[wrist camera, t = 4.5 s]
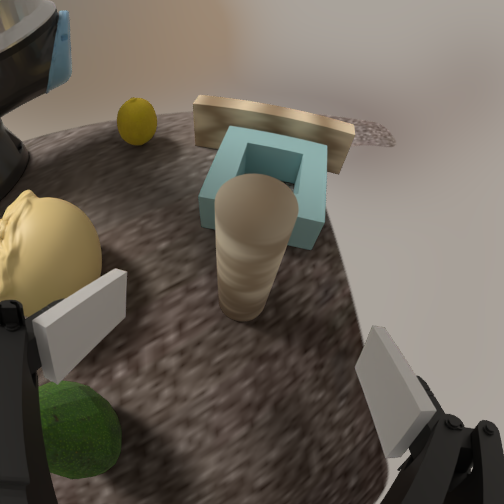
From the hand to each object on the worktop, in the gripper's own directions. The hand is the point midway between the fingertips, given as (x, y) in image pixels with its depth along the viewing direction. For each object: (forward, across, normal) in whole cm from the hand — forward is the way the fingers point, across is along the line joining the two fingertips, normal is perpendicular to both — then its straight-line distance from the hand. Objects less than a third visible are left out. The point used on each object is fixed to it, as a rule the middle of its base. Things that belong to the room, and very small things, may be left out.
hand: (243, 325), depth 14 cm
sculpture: (+10, -20, -6) cm, 23 cm away
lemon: (+26, -20, +9) cm, 34 cm away
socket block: (+21, -1, +5) cm, 22 cm away
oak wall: (+27, -2, +11) cm, 29 cm away
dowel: (+12, -1, -4) cm, 13 cm away
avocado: (+1, -11, -16) cm, 19 cm away
